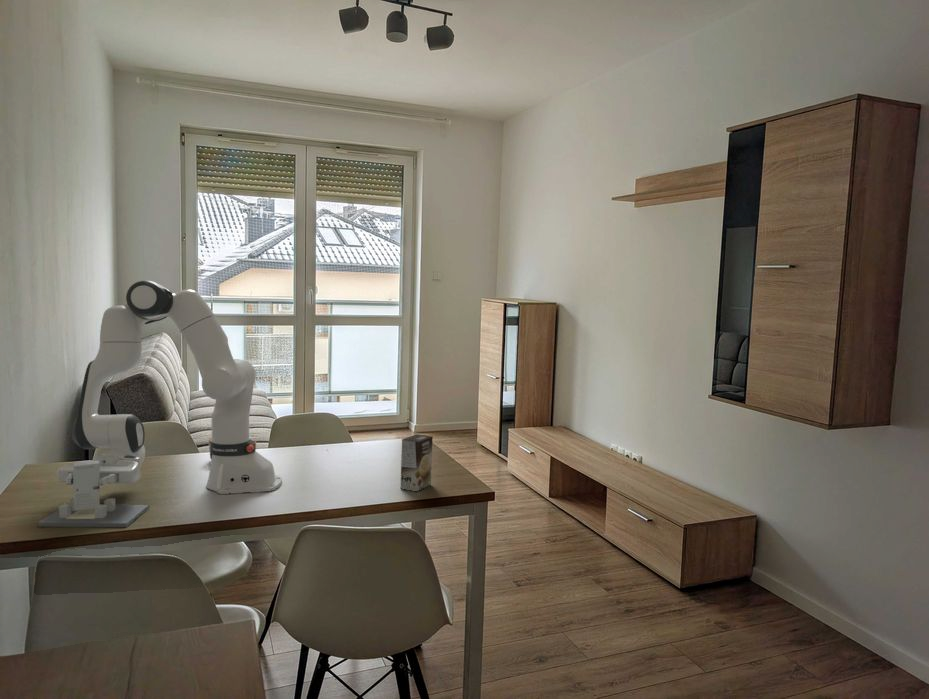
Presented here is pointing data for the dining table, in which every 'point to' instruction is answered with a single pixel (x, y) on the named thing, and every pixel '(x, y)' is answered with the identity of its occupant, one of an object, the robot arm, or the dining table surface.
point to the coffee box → (416, 462)
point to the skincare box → (86, 484)
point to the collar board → (94, 515)
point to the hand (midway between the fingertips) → (84, 482)
